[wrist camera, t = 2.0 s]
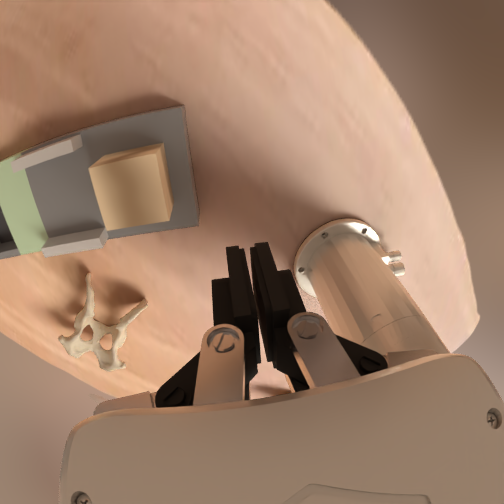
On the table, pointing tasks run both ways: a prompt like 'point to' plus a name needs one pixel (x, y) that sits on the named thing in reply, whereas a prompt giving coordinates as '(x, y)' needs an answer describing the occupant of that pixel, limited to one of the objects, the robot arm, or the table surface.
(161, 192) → the block
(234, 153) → the table surface
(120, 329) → the anatomical model
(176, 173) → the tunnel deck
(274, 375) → the table surface
